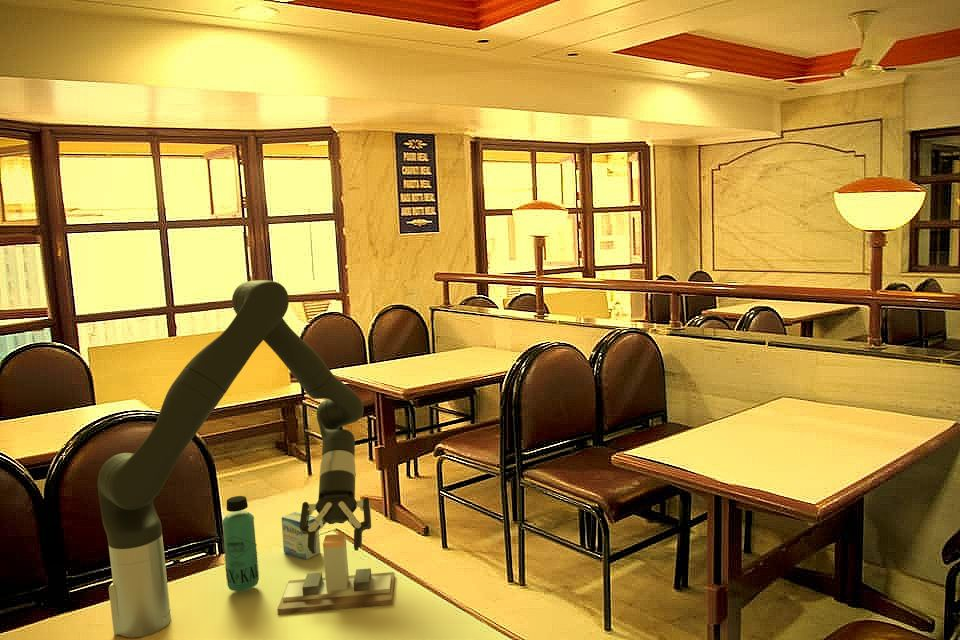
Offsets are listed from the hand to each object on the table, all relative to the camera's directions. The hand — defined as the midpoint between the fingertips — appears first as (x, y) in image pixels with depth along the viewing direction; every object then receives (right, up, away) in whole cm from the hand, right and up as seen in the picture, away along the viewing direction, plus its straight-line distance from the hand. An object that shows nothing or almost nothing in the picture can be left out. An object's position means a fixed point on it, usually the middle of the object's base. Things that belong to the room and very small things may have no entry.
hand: (334, 550), depth 147 cm
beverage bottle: (-20, -10, +5) cm, 23 cm away
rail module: (0, -8, +2) cm, 8 cm away
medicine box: (-12, -8, +23) cm, 27 cm away
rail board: (0, -9, +2) cm, 10 cm away
